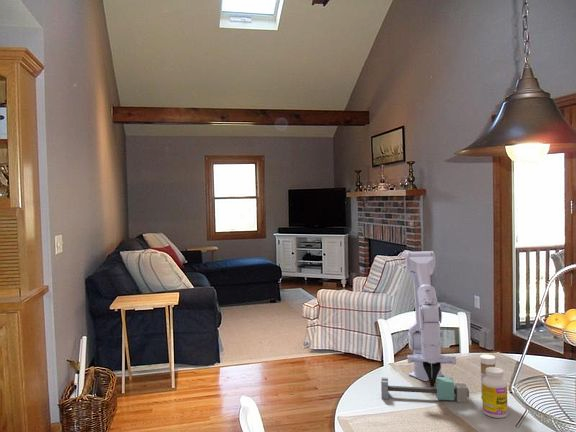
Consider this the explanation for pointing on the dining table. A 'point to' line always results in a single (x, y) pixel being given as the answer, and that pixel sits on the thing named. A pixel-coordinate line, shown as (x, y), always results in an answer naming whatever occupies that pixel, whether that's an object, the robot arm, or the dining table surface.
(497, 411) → the supplement bottle
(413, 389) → the shaft
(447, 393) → the sleeve
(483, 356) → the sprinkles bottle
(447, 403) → the dining table surface
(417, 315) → the robot arm
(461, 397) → the grey cube
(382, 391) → the grey notched jaw block
